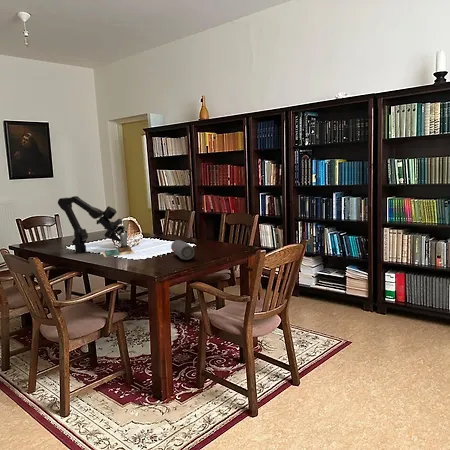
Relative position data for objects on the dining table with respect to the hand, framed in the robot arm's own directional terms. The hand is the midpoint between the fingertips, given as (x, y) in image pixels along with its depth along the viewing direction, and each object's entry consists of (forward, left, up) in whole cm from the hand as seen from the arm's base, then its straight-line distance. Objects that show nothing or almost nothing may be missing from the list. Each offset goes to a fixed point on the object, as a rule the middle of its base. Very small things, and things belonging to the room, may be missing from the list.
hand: (123, 240), depth 283 cm
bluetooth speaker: (+28, -40, -9) cm, 49 cm away
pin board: (-5, -4, -8) cm, 10 cm away
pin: (0, 0, -7) cm, 7 cm away
